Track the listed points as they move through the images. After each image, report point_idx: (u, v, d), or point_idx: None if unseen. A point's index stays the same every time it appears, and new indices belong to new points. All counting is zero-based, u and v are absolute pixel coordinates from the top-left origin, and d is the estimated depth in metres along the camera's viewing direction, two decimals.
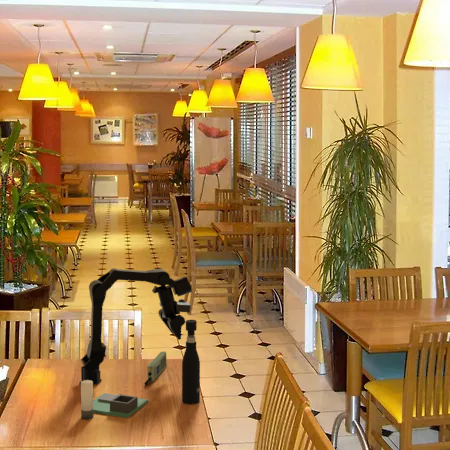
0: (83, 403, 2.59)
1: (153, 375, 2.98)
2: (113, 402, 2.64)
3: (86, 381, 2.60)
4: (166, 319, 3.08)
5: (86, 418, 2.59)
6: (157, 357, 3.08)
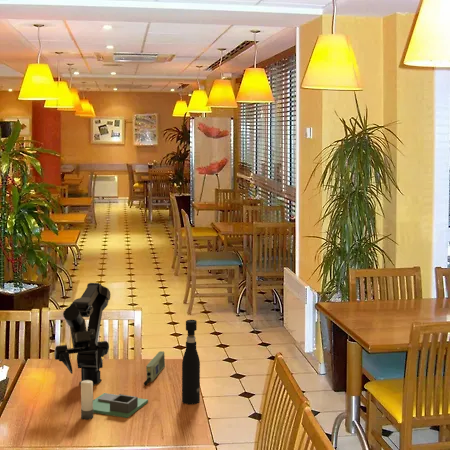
0: (83, 403, 2.59)
1: (152, 375, 2.98)
2: (113, 402, 2.64)
3: (86, 381, 2.60)
4: (96, 355, 2.73)
5: (86, 418, 2.59)
6: (155, 357, 3.08)
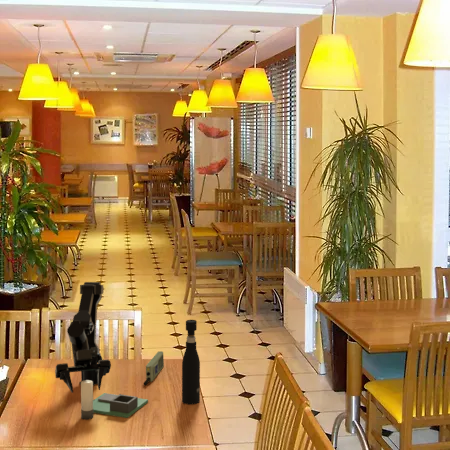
0: (83, 403, 2.59)
1: (152, 375, 2.98)
2: (113, 402, 2.64)
3: (86, 381, 2.60)
4: None
5: (86, 418, 2.59)
6: (155, 357, 3.08)
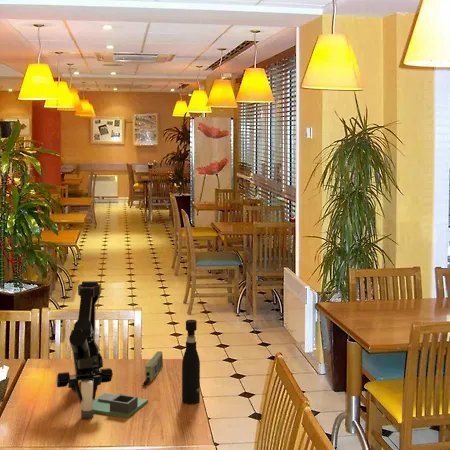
0: (83, 403, 2.59)
1: (151, 375, 2.98)
2: (113, 402, 2.64)
3: (86, 381, 2.60)
4: None
5: (86, 418, 2.59)
6: (154, 357, 3.08)
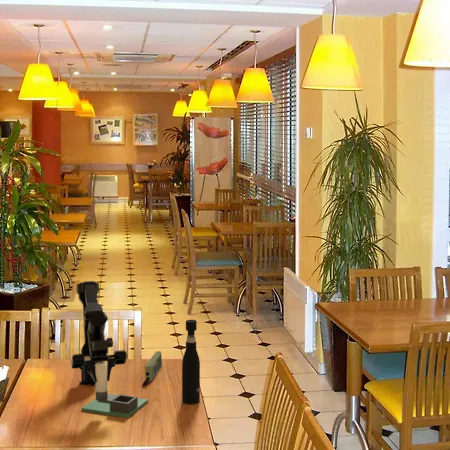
0: (97, 385, 2.61)
1: (151, 375, 2.98)
2: (113, 402, 2.64)
3: (100, 363, 2.62)
4: (107, 365, 2.66)
5: (100, 399, 2.61)
6: (153, 357, 3.08)
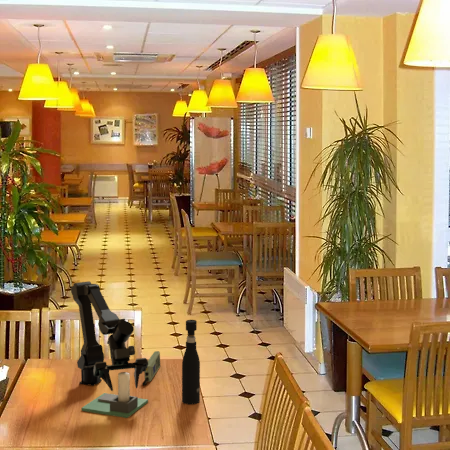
0: (120, 395, 2.65)
1: (150, 375, 2.98)
2: (113, 402, 2.64)
3: (123, 373, 2.66)
4: (134, 372, 2.71)
5: None
6: (152, 357, 3.08)
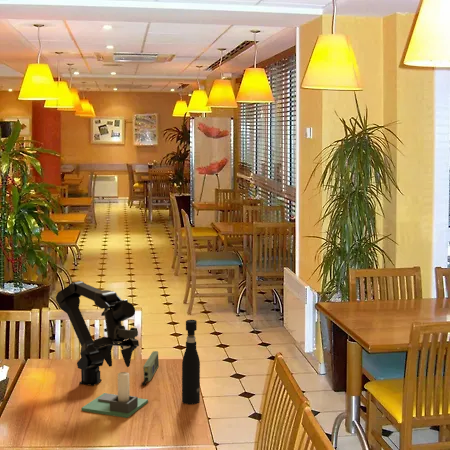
0: (120, 395, 2.65)
1: (149, 375, 2.98)
2: (113, 402, 2.64)
3: (123, 373, 2.66)
4: (124, 350, 2.84)
5: None
6: (151, 357, 3.08)
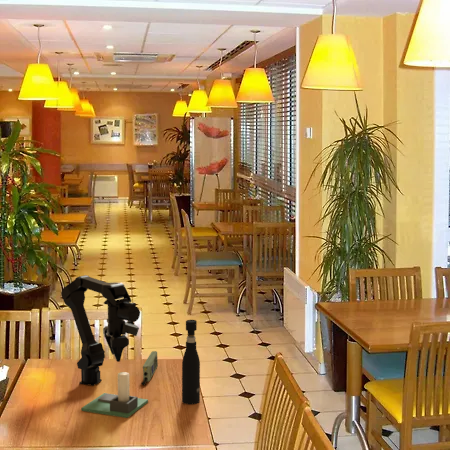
0: (119, 395, 2.65)
1: (149, 375, 2.98)
2: (113, 402, 2.64)
3: (122, 373, 2.66)
4: (109, 338, 2.88)
5: None
6: (150, 357, 3.08)
